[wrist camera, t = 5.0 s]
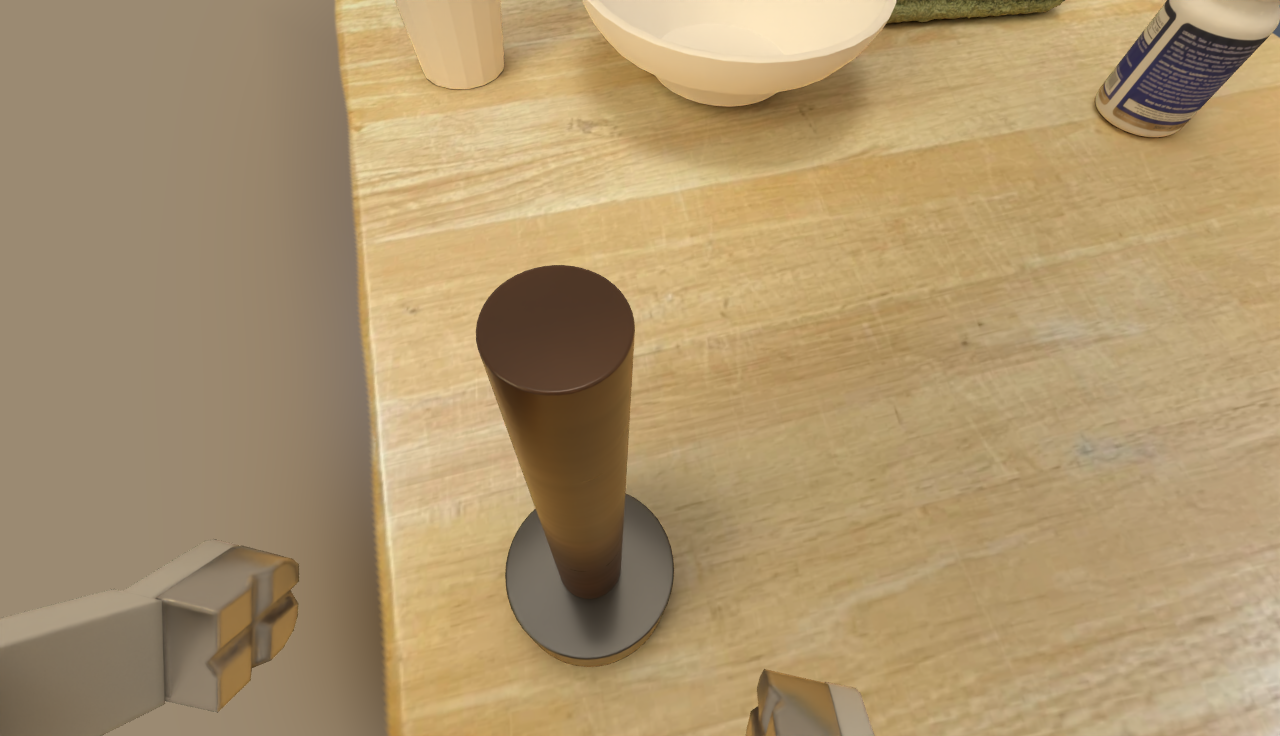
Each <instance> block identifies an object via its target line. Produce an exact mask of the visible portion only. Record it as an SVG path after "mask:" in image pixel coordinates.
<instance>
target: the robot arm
mask: <svg viewBox="0 0 1280 736" xmlns="http://www.w3.org/2000/svg"><path fill="white" fill-rule="evenodd" d="M298 582H299V564H298V563H297V562H296V561H295V560H293V559H292V558H288V557H284V556H280V555H276V554H272V553H269V552H264V551H261V550H257V549H253V548H249V547H245V546H239V545H236V544H232V543H228V542H224V541H220V540H216V539H215V540H206V541H204V542H202V543H200V544H199V545H197V546H195V547H194V548H192V549H191V550H189V551H187V552H186V553H184V554H182V555H181V556H179V557H177V558H176V559H174V560H172V561H171V562H169V563H168V564H166V565H164V566H163V567H161V568H159V569H158V570H156V571H154V572H153V573H151V574H150V575H148V576H146V577H145V578H143V579H141V580H140V581H138V582H136V583H135V584H133V585H132V586H130V587H128V588H126V589H125V590H123V591H120V590H116V589H111V590H108V591H104V592H100V593H96V594H92V595H88V596H84V597H80V598H76V599H72V600H69V601H64V602H61V603H57V604H53V605H49V606H45V607H41V608H37V609H34V610H29V611H26V612H22V613H18V614H14V615H10V616H6V617H2V618H0V736H102V735H104V734H106V733H108V732H110V731H112V730H114V729H116V728H118V727H120V726H122V725H124V724H126V723H128V722H130V721H132V720H134V719H136V718H138V717H140V716H142V715H144V714H146V713H148V712H150V711H152V710H154V709H156V708H158V707H160V706H162V705H164V704H165V701H168V702H172V703H176V704H181V705H186V706H190V707H195V708H200V709H204V710H208V711H213V712H219V711H220V710H221V709H222V708H223V707H224V706H225V705H226V704H227V703H228V702H229V701H230V700H231V699H232V698H233V697H234V696H235V695H236V694H237V693H238V692H239V691H240V690H241V689H242V688H243V687H244V686H245V685H246V684H247V683H248V682H249V681H250V680H251V671H252V668H254V667H256V666H258V665H261V664H263V663H266V662H268V661H271V660H272V659H273V658H274V657H275V656H276V655H277V654H278V653H279V652H280V651H281V650H282V649H283V648H284V646H285V644H286V642H287V641H288V639H289V637H290V636H291V634H292V632H293V631H294V627H295V624H296V620H297V617H298V602H297V600H296V599H295V597H294V596H293V594H292V592H291V589H292V588H293V587H294V586H295V585H296V584H297V583H298ZM757 697H758V707H756V708H755V709H753V710H752V711H751V713H750V717H749V721H748V725H747V730H746V736H875V735H874V732H873V729H872V726H871V723H870V720H869V717H868V714H867V711H866V708H865V705H864V702H863V699H862V696H861V693H860V692H859V691H858V690H857V689H856V688H853V687H848V686H843V685H838V684H833V683H829V682H825V683H823V682H819V681H815V680H811V679H806V678H802V677H797V676H793V675H789V674H784V673H780V672H775V671H771V670H767V669H764V670H763V672H762V674H761V676H760V679H759V683H758V686H757Z"/></svg>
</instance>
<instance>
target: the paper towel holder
mask: <svg viewBox="0 0 1280 736" xmlns="http://www.w3.org/2000/svg"><path fill="white" fill-rule="evenodd" d="M634 334H635V325H634V317H633V313H632V310H631V308H630V305H629V303H628V302H627V300H626V298H625V297H624V295H623V294H622V293H621V291H620V290H619V289H618V288H617V287H616V286H615V285H614V284H612V283H611V282H610V281H609V280H607V279H606V278H604V277H602V276H601V275H599V274H597V273H594V272H592V271H589V270H586V269H583V268H579V267H574V266H565V265H552V266H543V267H538V268H534V269H530V270H527V271H524V272H522V273H520V274H517V275H516V276H514V277H512V278H510V279H508V280H507V281H506V282H504V283H503V284H501V285H500V286H499V287H498V288H497V289H496V290H495V291H494V292H493V293H492V294H491V295H490V297H489V298H488V299H487V301H486V302H485V304H484V306H483V308H482V310H481V312H480V314H479V318H478V321H477V327H476V342H477V347H478V350H479V353H480V356H481V359H482V361H483V364H484V367H485V370H486V372H487V375H488V378H489V381H490V384H491V386H492V389H493V392H494V395H495V397H496V400H497V403H498V406H499V408H500V411H501V414H502V417H503V420H504V422H505V425H506V428H507V431H508V433H509V436H510V439H511V442H512V444H513V447H514V450H515V453H516V456H517V458H518V461H519V464H520V467H521V469H522V472H523V475H524V478H525V480H526V483H527V486H528V489H529V492H530V494H531V497H532V500H533V503H534V505H535V508H536V509H535V510H534V511H533V512H531V513H530V514H529V516H528V517H527V518H526V519H525V521H524V522H523V523H522V525H521V526H520V528H519V529H518V531H517V533H516V535H515V537H514V539H513V541H512V544H511V547H510V549H509V552H508V557H507V562H506V573H505V578H506V590H507V595H508V599H509V602H510V605H511V609H512V611H513V613H514V615H515V617H516V619H517V621H518V622H519V623H520V625H521V626H522V628H523V629H524V630H525V632H526V633H527V634H528V635H529V636H530V637H531V638H532V639H533V640H534V641H535V642H536V643H537V644H538V645H539V646H540V647H541V648H542V649H543V650H544V651H546V652H547V653H548V654H550V655H551V656H553V657H555V658H556V659H558V660H561V661H563V662H565V663H568V664H572V665H576V666H585V667H594V666H602V665H608V664H611V663H614V662H617V661H619V660H621V659H623V658H625V657H627V656H629V655H630V654H632V653H633V652H634V651H636V650H637V649H638V648H639V647H640V646H642V645H643V644H644V643H645V642H646V640H647V639H648V638H649V637H650V636H651V634H652V633H653V631H654V630H655V628H656V627H657V625H658V623H659V621H660V618H661V616H662V614H663V612H664V610H665V608H666V606H667V604H668V601H669V597H670V594H671V590H672V585H673V577H674V563H673V555H672V550H671V546H670V543H669V540H668V537H667V535H666V533H665V531H664V529H663V527H662V525H661V524H660V522H659V521H658V519H657V518H656V517H655V516H654V514H653V513H652V512H651V511H650V510H649V509H648V508H647V507H646V506H645V505H644V504H642V503H641V502H639V501H638V500H637V499H635V498H634V497H632V496H630V495H628V494H626V493H625V490H626V473H627V456H628V438H629V421H630V403H631V386H632V369H633V351H634Z"/></svg>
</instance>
